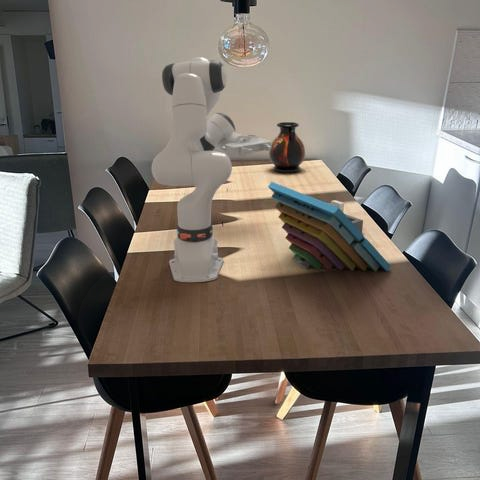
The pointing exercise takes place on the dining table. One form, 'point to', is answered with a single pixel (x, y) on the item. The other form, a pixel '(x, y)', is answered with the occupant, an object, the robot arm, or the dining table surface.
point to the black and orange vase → (287, 149)
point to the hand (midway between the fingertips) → (260, 150)
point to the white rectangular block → (338, 204)
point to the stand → (356, 222)
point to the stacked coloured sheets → (323, 233)
